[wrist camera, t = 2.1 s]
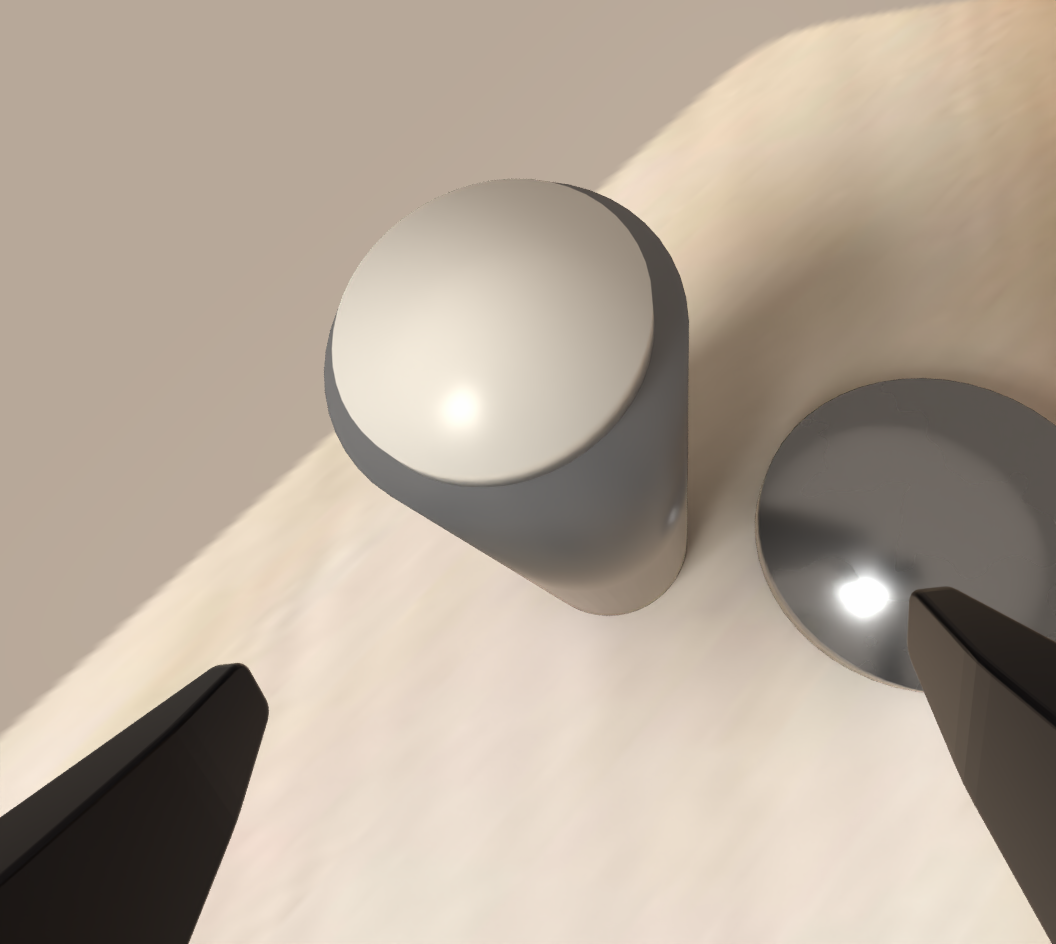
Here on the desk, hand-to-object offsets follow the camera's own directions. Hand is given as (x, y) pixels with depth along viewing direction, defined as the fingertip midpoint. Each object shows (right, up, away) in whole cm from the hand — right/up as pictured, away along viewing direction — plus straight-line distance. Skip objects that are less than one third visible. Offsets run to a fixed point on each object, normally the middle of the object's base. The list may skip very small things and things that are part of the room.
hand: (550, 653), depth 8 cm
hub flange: (+10, +1, +9) cm, 14 cm away
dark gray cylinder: (+2, 0, +11) cm, 11 cm away
